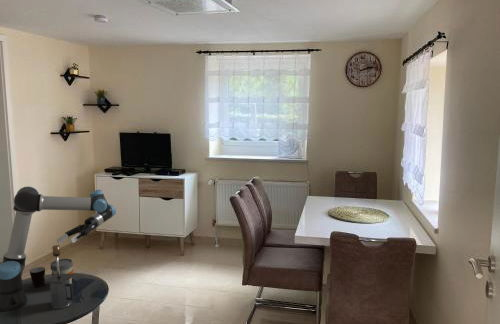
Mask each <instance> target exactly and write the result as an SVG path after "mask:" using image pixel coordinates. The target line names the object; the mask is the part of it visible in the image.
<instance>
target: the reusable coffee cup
mask: <svg viewBox="0 0 500 324" xmlns="http://www.w3.org/2000/svg"><path fill="white" fill-rule="evenodd" d="M58 260H59V270H60V273H63V274H73V276H74V268H73V266H74V264H73V263H74V262H73V260H72V258H60V259H59V258H58ZM50 270H51V276H53V275H54V274H56V273H57V264H56V260H53V261H52V262H50ZM73 276H72V277H71V278H70V279H69V282H70V284H73V283H72V281H73V280H72V279H73Z"/></svg>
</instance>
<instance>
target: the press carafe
mask: <svg viewBox="0 0 500 324" xmlns="http://www.w3.org/2000/svg"><path fill="white" fill-rule="evenodd" d="M72 276H74V273H73V274H63V273H60V278H58V274H57V273H56V274H54V275H53V276H52V275H51V276H49V278H47V279H45V281H44V282H45V284H49V293H50V303H51V305H50V307H51V309H53V310H62V309H66V308H68V307H70V306H71V305H72V304H73V303H72V301H74V299H75V298H74V296H75V295H74V288H73V287H74V285H73V283H72V284H70V282H69V279H70V278H71V277H72ZM72 278H73V277H72Z"/></svg>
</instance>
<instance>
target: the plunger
mask: <svg viewBox="0 0 500 324" xmlns="http://www.w3.org/2000/svg"><path fill="white" fill-rule="evenodd" d="M52 256H53V257H55V261H56V264H57V274H58V278H60V270H59V257H60V256H61V247H60V244H59V245H58V244H57V245H53V246H52Z"/></svg>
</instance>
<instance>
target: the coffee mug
mask: <svg viewBox="0 0 500 324" xmlns="http://www.w3.org/2000/svg"><path fill="white" fill-rule="evenodd" d="M29 275H30V278H31V283H32V287H33V288H40V287H43V286H45V285H46V283H45V282H44V281H45V280H46V267H44V266H37V267H33V268H31V269H29Z"/></svg>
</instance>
